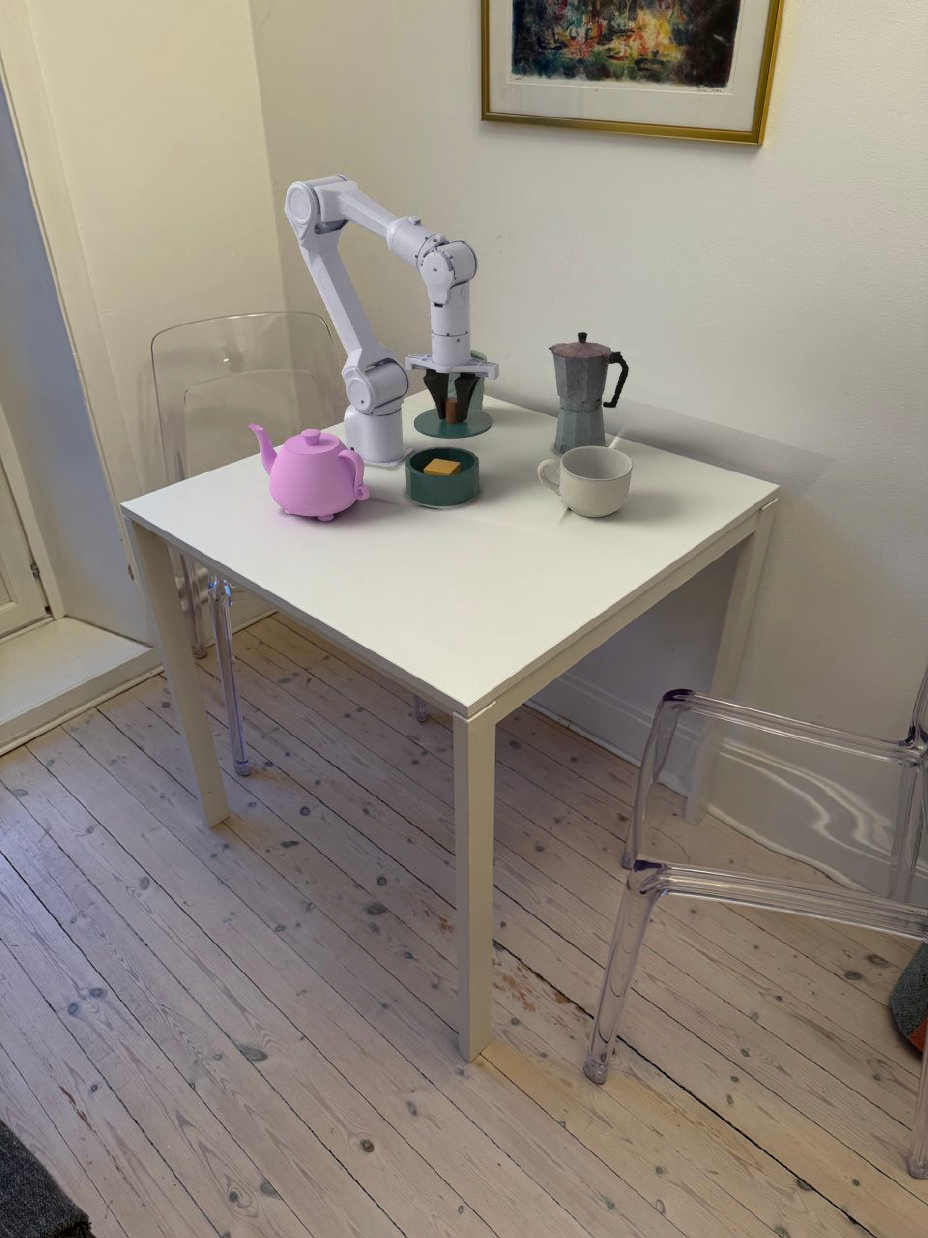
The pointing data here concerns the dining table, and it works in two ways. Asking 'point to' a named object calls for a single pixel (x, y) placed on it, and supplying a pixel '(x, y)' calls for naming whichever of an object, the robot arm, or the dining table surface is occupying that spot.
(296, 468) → the teapot
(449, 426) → the lid
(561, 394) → the moka pot
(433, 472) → the block
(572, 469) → the teacup
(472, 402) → the green embossed cup
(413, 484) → the pot
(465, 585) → the dining table surface
